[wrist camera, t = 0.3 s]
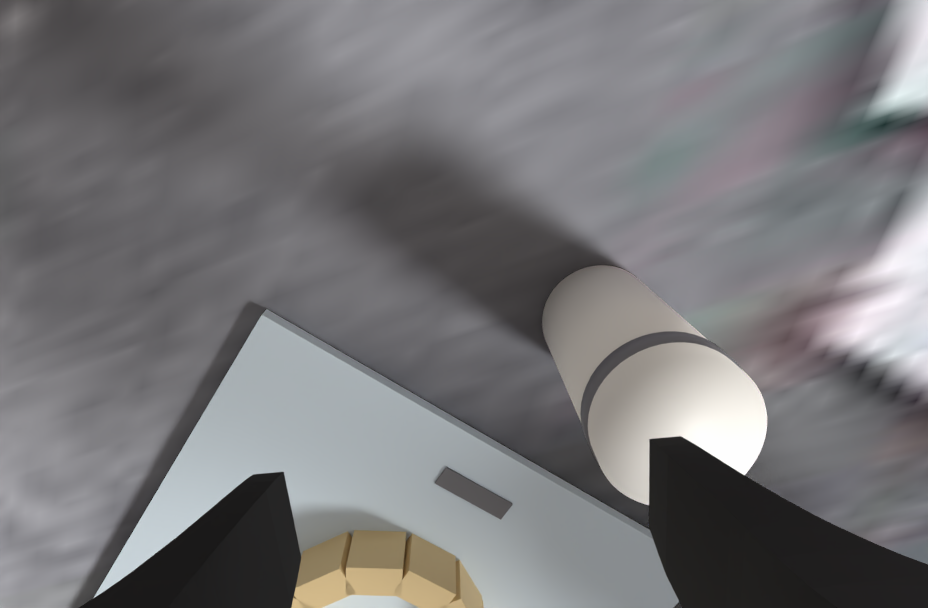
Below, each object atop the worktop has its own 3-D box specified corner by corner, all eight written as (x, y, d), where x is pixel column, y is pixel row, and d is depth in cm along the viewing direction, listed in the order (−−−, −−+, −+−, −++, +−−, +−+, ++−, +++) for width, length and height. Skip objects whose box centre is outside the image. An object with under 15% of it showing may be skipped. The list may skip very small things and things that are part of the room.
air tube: (678, 303, 21) (806, 409, 14) (608, 391, 22) (691, 536, 15) (586, 241, 21) (668, 317, 13) (518, 335, 22) (556, 458, 14)
